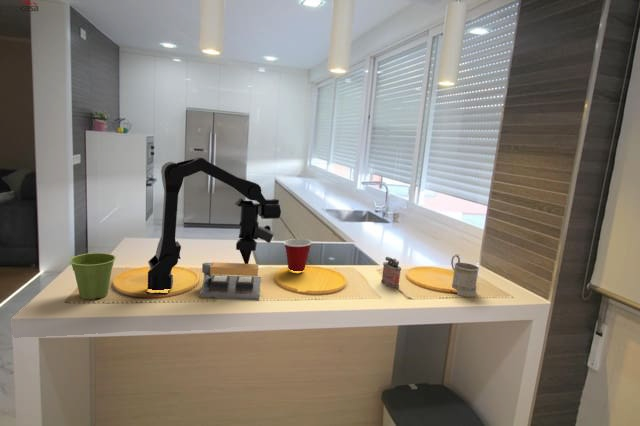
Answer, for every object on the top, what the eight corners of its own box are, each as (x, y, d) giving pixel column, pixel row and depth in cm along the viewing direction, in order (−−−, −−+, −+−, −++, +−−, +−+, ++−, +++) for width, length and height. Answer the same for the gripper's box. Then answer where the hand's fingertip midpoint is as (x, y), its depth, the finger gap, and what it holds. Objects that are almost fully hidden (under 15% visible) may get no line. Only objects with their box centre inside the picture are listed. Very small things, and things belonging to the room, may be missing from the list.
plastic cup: (281, 266, 164) (283, 236, 162) (308, 267, 165) (310, 238, 163) (281, 275, 153) (283, 243, 151) (310, 276, 154) (313, 245, 152)
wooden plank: (200, 274, 132) (201, 266, 131) (203, 269, 137) (203, 261, 136) (257, 276, 134) (258, 268, 134) (258, 271, 139) (258, 264, 139)
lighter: (401, 287, 150) (404, 261, 149) (394, 289, 148) (397, 262, 147) (385, 280, 157) (388, 255, 155) (379, 281, 155) (381, 255, 153)
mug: (483, 296, 148) (488, 264, 146) (458, 296, 146) (463, 263, 144) (460, 282, 162) (464, 252, 160) (437, 282, 160) (441, 252, 158)
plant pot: (73, 289, 125) (72, 253, 123) (117, 287, 129) (117, 252, 127) (66, 305, 114) (65, 265, 112) (114, 301, 119) (114, 263, 117)
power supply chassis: (198, 297, 127) (199, 282, 126) (207, 278, 143) (207, 265, 142) (259, 299, 129) (260, 284, 128) (260, 280, 145) (261, 267, 145)
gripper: (273, 226, 131) (269, 273, 134) (273, 215, 149) (270, 257, 152) (237, 224, 130) (234, 272, 132) (241, 213, 148) (239, 255, 151)
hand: (246, 263), depth 142 cm, fingers closed
